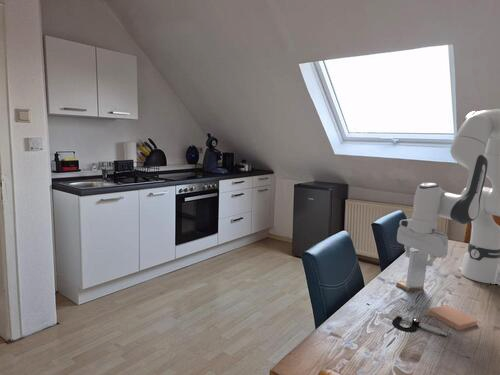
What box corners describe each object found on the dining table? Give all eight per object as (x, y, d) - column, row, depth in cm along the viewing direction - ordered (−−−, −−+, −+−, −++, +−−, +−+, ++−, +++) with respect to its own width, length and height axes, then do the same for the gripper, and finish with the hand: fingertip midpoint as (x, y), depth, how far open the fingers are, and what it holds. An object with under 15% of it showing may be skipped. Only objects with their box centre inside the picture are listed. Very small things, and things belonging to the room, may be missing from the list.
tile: (446, 304, 128) (477, 320, 118) (445, 310, 128) (476, 326, 118) (428, 309, 124) (459, 325, 114) (427, 314, 124) (458, 331, 115)
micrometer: (389, 327, 114) (390, 319, 114) (395, 318, 120) (396, 311, 120) (442, 346, 105) (443, 338, 105) (447, 336, 111) (448, 328, 111)
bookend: (410, 283, 149) (415, 246, 147) (423, 289, 144) (428, 251, 141) (396, 285, 146) (401, 247, 143) (408, 292, 140) (413, 253, 138)
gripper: (454, 233, 131) (448, 270, 133) (407, 218, 149) (403, 251, 151) (442, 234, 128) (436, 272, 130) (396, 219, 146) (392, 253, 148)
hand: (418, 261), depth 141 cm, fingers open, 8 cm apart
